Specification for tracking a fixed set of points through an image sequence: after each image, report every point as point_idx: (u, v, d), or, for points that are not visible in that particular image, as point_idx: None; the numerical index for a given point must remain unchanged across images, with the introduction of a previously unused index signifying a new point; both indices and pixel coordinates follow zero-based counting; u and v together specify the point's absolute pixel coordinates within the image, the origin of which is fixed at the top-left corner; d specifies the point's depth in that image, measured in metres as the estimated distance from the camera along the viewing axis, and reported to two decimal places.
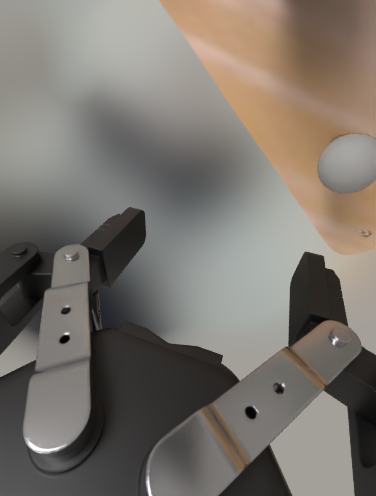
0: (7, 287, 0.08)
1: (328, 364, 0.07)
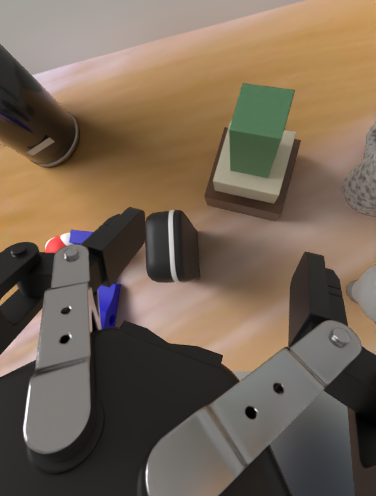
0: (7, 287, 0.08)
1: (328, 364, 0.07)
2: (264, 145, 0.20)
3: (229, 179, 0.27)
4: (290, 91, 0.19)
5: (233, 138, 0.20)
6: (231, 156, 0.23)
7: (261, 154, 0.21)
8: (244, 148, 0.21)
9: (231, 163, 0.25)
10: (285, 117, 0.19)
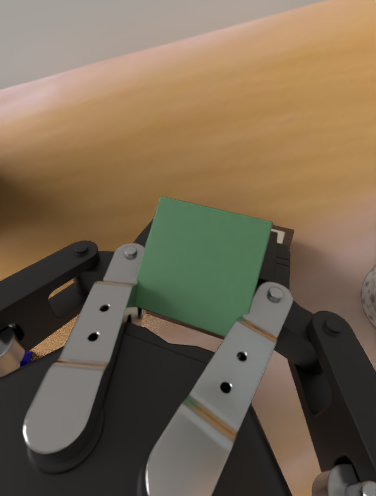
0: (59, 283, 0.09)
1: (273, 320, 0.08)
2: None
3: None
4: (263, 224, 0.08)
5: None
6: None
7: None
8: None
9: None
10: (251, 288, 0.08)
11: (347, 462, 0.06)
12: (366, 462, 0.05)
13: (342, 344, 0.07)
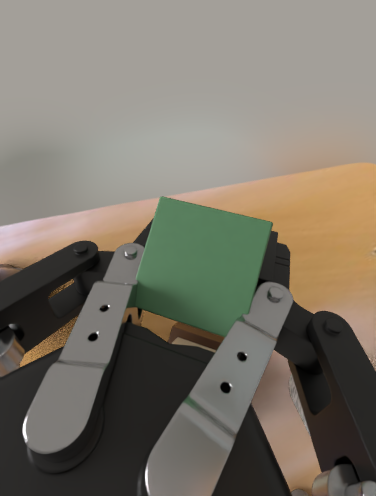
0: (59, 283, 0.09)
1: (273, 320, 0.08)
2: None
3: None
4: (262, 225, 0.08)
5: None
6: None
7: None
8: None
9: None
10: (251, 288, 0.08)
11: (347, 462, 0.06)
12: (366, 462, 0.05)
13: (342, 344, 0.07)
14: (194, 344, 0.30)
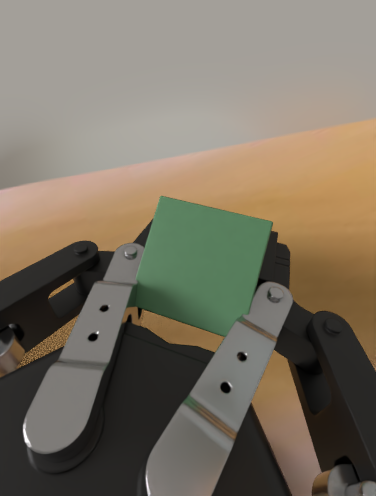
0: (59, 283, 0.09)
1: (273, 320, 0.08)
2: None
3: None
4: (263, 224, 0.08)
5: None
6: None
7: None
8: None
9: None
10: (251, 288, 0.08)
11: (347, 462, 0.06)
12: (366, 462, 0.05)
13: (342, 344, 0.07)
14: None
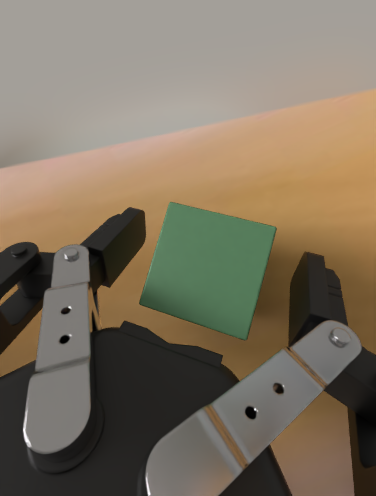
0: (7, 287, 0.08)
1: (328, 364, 0.07)
2: None
3: None
4: (267, 229, 0.09)
5: None
6: None
7: None
8: None
9: None
10: (255, 290, 0.08)
11: None
12: None
13: None
14: None
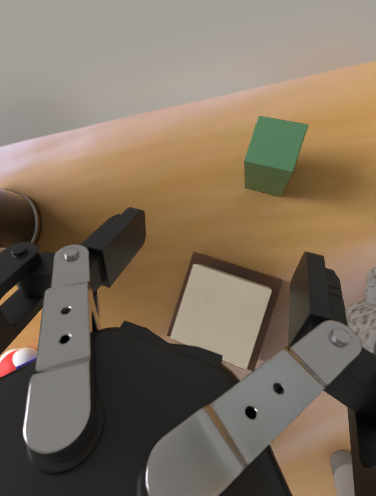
0: (7, 287, 0.08)
1: (328, 364, 0.07)
2: (276, 174, 0.22)
3: (189, 339, 0.22)
4: (304, 125, 0.20)
5: (248, 167, 0.22)
6: (246, 178, 0.25)
7: (274, 180, 0.23)
8: (258, 174, 0.23)
9: (246, 183, 0.26)
10: (297, 151, 0.20)
11: None
12: None
13: None
14: (220, 271, 0.24)
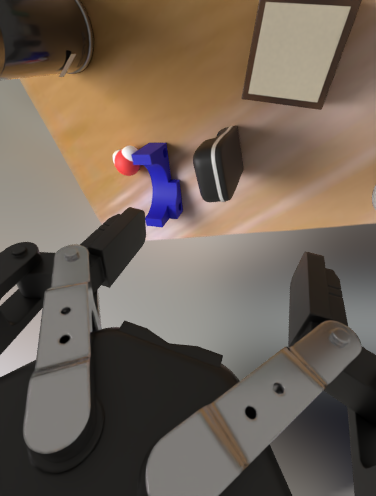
0: (7, 287, 0.08)
1: (328, 364, 0.07)
2: None
3: (265, 89, 0.26)
4: None
5: None
6: None
7: None
8: None
9: None
10: None
11: None
12: None
13: None
14: None
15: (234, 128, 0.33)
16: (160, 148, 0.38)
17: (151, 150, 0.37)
